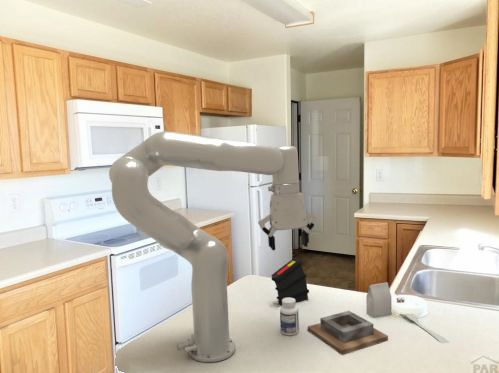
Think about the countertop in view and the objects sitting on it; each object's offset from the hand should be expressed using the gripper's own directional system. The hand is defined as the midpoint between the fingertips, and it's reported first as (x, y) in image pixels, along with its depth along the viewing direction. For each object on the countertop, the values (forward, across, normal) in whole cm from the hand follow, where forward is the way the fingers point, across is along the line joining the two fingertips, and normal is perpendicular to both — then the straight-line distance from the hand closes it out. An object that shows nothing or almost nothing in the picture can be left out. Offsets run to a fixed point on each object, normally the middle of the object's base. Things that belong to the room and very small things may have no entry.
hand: (289, 247), depth 116 cm
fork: (+27, +37, -8) cm, 46 cm away
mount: (+26, +14, -7) cm, 30 cm away
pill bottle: (+26, -1, -1) cm, 26 cm away
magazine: (+26, +5, +21) cm, 34 cm away
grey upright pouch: (+26, +30, +4) cm, 40 cm away
